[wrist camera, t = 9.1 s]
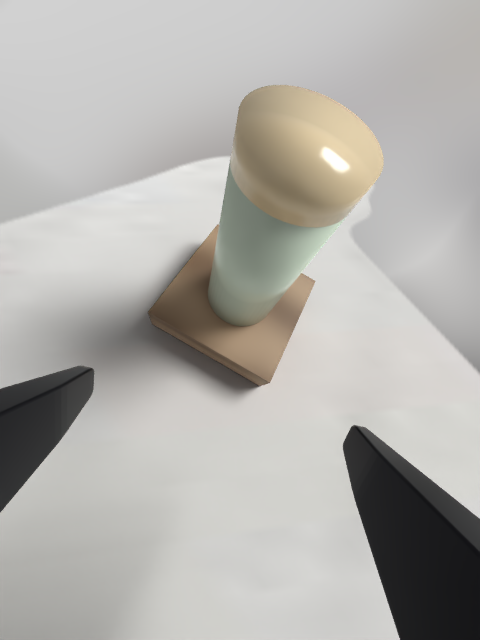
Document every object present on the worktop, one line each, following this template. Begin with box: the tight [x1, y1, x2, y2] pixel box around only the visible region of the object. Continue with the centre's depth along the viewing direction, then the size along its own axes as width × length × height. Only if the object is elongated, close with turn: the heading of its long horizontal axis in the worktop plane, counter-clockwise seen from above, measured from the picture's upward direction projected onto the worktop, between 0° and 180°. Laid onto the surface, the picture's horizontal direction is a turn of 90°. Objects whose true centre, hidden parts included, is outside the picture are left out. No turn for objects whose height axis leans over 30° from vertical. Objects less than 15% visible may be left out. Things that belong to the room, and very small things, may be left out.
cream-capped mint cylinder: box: [208, 85, 383, 326], centre depth 13 cm, size 5×5×12 cm
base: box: [148, 224, 315, 386], centre depth 20 cm, size 10×10×2 cm
